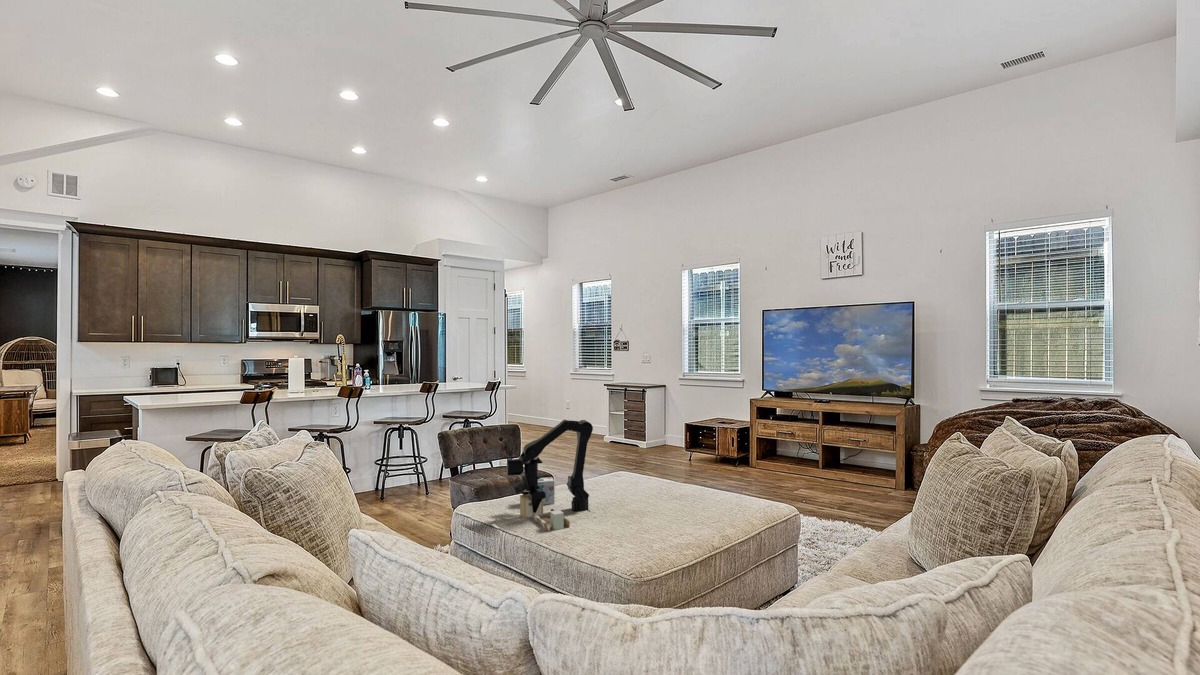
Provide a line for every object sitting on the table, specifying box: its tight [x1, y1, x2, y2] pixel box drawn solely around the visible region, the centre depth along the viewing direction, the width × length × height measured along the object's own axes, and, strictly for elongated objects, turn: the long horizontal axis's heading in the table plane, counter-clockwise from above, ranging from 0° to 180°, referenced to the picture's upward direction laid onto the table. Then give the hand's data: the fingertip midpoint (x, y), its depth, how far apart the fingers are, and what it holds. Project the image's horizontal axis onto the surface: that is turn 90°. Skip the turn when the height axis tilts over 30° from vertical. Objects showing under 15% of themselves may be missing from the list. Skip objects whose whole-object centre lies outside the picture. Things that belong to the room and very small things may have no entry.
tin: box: [549, 509, 565, 531], centre depth 235 cm, size 4×4×6 cm
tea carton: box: [519, 494, 544, 518], centre depth 252 cm, size 8×5×9 cm, turn 116°
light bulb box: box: [537, 476, 556, 506], centre depth 271 cm, size 11×7×11 cm, turn 105°
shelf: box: [531, 508, 571, 532], centre depth 241 cm, size 18×9×4 cm, turn 26°
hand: (531, 510), depth 252 cm, fingers open, 7 cm apart
